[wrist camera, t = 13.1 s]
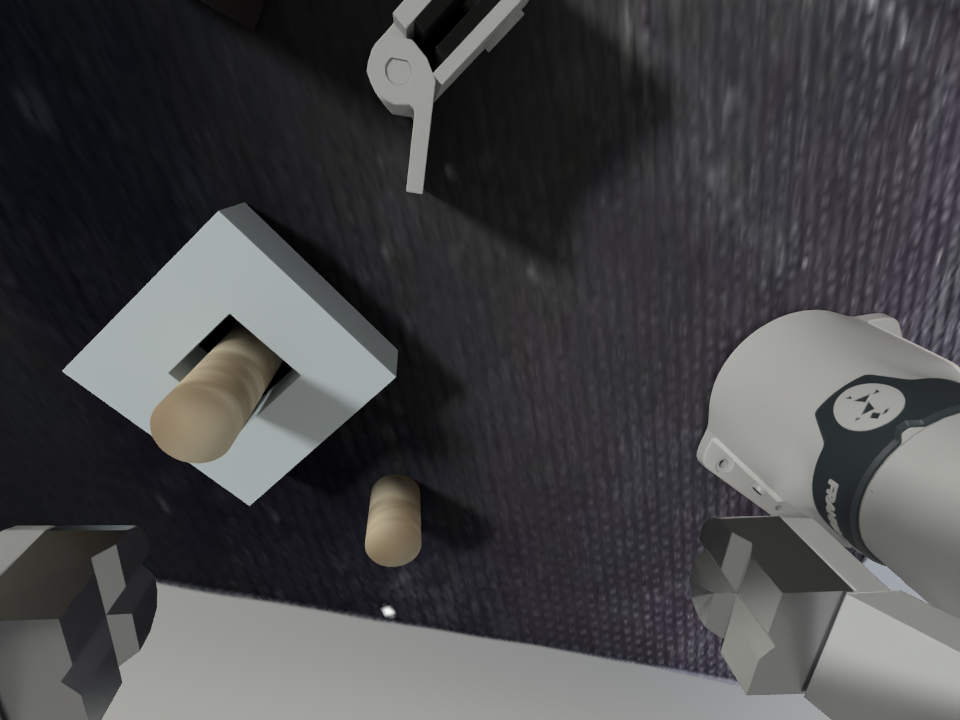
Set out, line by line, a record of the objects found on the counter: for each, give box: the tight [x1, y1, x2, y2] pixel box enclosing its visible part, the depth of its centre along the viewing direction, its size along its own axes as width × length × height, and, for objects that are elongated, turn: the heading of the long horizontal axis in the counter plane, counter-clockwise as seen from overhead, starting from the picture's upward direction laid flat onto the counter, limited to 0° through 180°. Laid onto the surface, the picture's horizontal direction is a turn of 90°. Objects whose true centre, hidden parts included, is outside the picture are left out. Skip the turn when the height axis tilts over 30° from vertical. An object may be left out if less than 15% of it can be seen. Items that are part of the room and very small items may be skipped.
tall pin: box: [150, 323, 283, 463], centre depth 32 cm, size 4×4×12 cm
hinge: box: [367, 0, 529, 194], centre depth 28 cm, size 14×5×10 cm, turn 146°
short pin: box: [365, 474, 421, 567], centre depth 41 cm, size 4×4×6 cm
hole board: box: [62, 203, 398, 506], centre depth 35 cm, size 14×14×5 cm
